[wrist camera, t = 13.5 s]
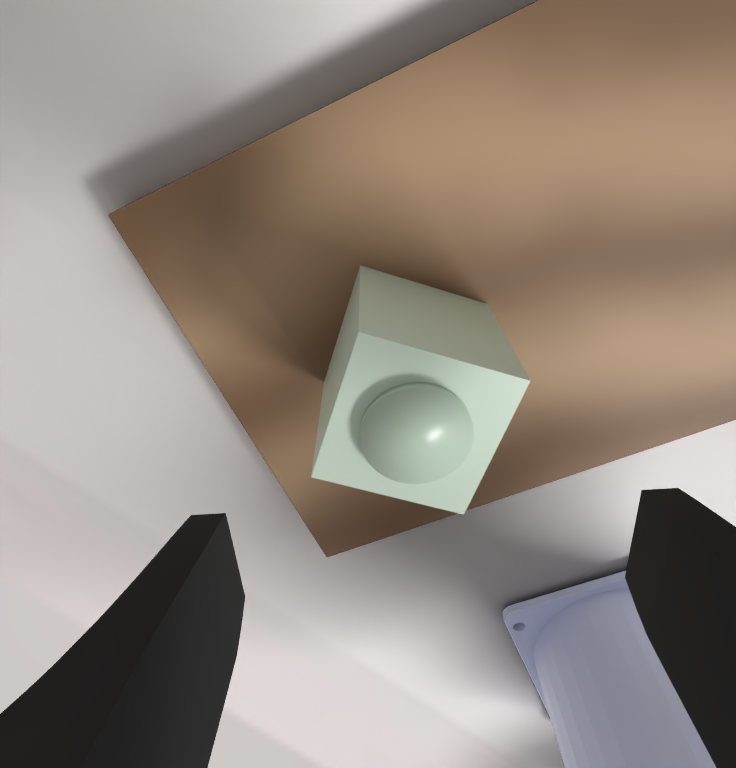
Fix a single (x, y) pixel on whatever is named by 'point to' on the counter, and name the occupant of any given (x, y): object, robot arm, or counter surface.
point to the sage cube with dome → (415, 393)
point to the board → (482, 241)
